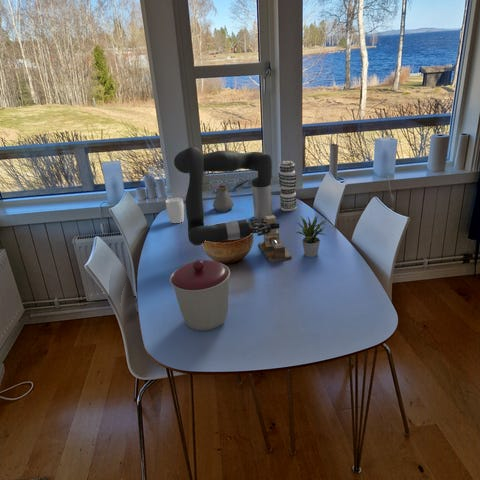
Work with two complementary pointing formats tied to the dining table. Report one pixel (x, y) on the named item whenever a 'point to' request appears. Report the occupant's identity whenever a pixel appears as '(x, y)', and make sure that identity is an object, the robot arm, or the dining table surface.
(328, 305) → the dining table surface
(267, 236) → the tan stepped block
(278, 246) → the base board
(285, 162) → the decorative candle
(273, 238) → the pipe
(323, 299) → the dining table surface
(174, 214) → the cup
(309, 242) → the house plant
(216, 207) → the coffee pot
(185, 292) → the canister
